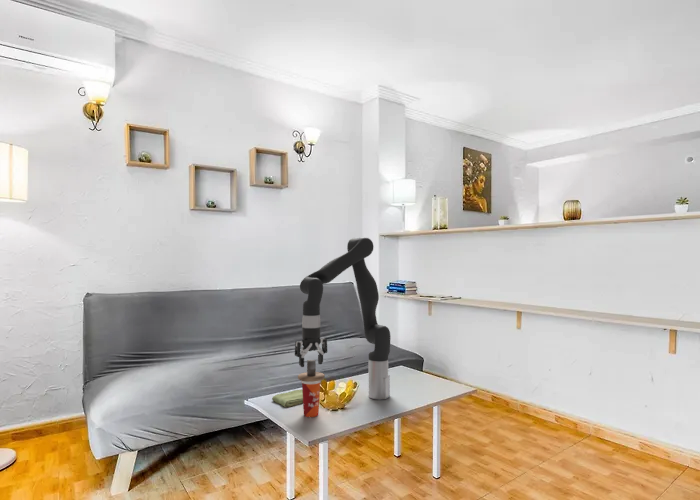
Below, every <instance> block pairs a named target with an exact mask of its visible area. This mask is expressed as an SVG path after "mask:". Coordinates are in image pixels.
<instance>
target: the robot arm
mask: <svg viewBox="0 0 700 500" xmlns="http://www.w3.org/2000/svg"><path fill="white" fill-rule="evenodd" d="M346 249H347V252H346V253H344V254H342V255H340V256H338V257H336V258H333V259H332V260H330V261H329V262H327V263H326V264H325V265H324V266H322V267H321V268H319V269H318V270H316V271H314V272H312V273H311V274H308V275H306V276H305V277H304V278H303V279H302V280H301V282H300V284H299V288H300V289H299V290H300V292H301V293H302V294H305V295H307V300H304V301H303V304H302V319H301V322H302V324H301V327H302V328H301V330H302V331H301V334H302V335H301V338H302V340H301V341H298V340H297V341H295V342H294V357H297V358H298V365H299V367H301V368H305V356H306V355H307V354H308V353H309V352H312V351H315V352H317V354H318V355H317V363H318V365H322V364H323V362H324V355H325V354H327V353H328V340H327V338H324V337H322V338H321V307H320V306H321V301H322V298H323V294H324V285H325V284H329V283H331V282H332V281H334V279H336V278H337V277H338V276H339V275H340V274H342V273H343V272H345V271H346V270H347V269H349V268H351V267H352V270H353V275H354V280H355V283H356V289H357V294H358V299H359V303H360V308H361V313H362V318H363V319H362V321H363V331H364V337H365V340H366V341H367V342H368V343H369V344H373V345H374V350H373V351H370V352H368V397H369V399H372V400H387V399H388V398H389V397H391V396H390V395H391V389H390V388H391V378H390V377H391V376H390V375H389V355H390V353H391V332H390V328H388V327H387V326H385V325H383V324H382V325H381V324H378V323H379V322H378V321H377V316H376V315H377V313H376V312H377V307H378V304H379V298H380V296H379V290H378V285H377V282H376V280H375V278H374V276H373V275H372V273H371V272H370V271H369V269H368V267H367V264H366V262H365V258H367V257H369V256H371V254H372V253H373V251H374V242H373V240H372V239H371V238H369V237H364V236H362V237H352V238H350V239H349V240H348V242H347V248H346ZM320 345H321V346H320ZM301 347H302V348H301Z"/></svg>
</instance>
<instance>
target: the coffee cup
mask: <svg viewBox="0 0 700 500" xmlns="http://www.w3.org/2000/svg"><path fill="white" fill-rule="evenodd" d="M300 382H301V387H302V388H301V389H302V392H303V403H302V405H303V406H302V411H303V416H304V417H307V418H316V417H318V416H319V410H320V409H319V408H320V391H321V382H322V380H320V381H314V382H306V381H301V380H300Z"/></svg>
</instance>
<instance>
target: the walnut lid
mask: <svg viewBox="0 0 700 500" xmlns="http://www.w3.org/2000/svg"><path fill="white" fill-rule="evenodd" d="M316 363H317V362H316V360H315V359H308V360H307V361H306V364H307V365H306V372H301V373H299V374H298V375H297V379H298V381H300V382H301V381H306V382H314V381H320V380H321V381H323V380H324V379H325V378H326V377H325V374H324V373H323V372H319V371H316V367H317V366H316Z"/></svg>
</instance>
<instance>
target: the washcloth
mask: <svg viewBox="0 0 700 500" xmlns="http://www.w3.org/2000/svg"><path fill="white" fill-rule="evenodd" d="M271 400H272V401H273V402H274V403H276V404H279V405H281V406H282V407H284V408H289V407H295V406H297V405H301V404H302V405H303V392H302V388H301V389H296V390H292V391H288V392H283V393H279V394H278V393H277V394H275V395H274V396H272V399H271Z"/></svg>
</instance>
